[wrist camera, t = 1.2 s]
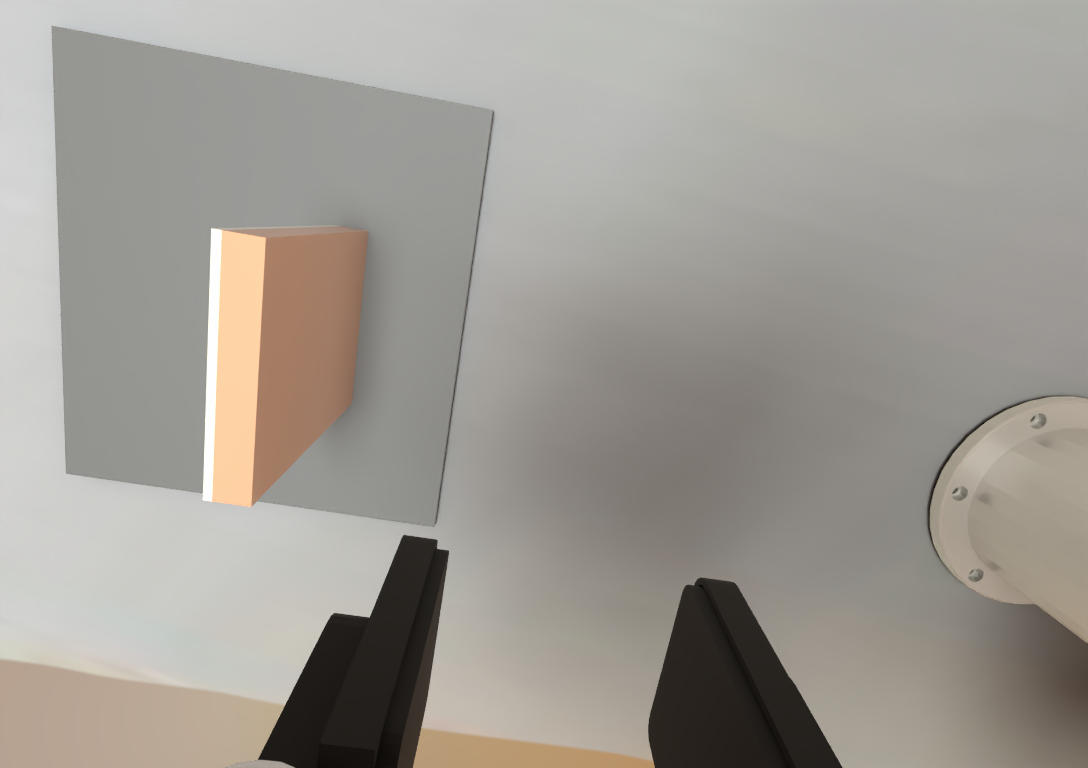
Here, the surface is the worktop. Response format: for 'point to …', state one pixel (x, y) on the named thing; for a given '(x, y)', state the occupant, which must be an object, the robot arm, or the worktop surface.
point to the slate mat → (256, 201)
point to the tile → (277, 349)
